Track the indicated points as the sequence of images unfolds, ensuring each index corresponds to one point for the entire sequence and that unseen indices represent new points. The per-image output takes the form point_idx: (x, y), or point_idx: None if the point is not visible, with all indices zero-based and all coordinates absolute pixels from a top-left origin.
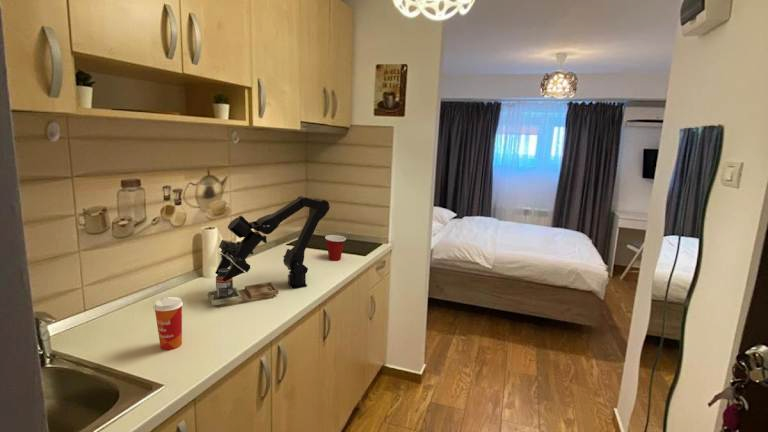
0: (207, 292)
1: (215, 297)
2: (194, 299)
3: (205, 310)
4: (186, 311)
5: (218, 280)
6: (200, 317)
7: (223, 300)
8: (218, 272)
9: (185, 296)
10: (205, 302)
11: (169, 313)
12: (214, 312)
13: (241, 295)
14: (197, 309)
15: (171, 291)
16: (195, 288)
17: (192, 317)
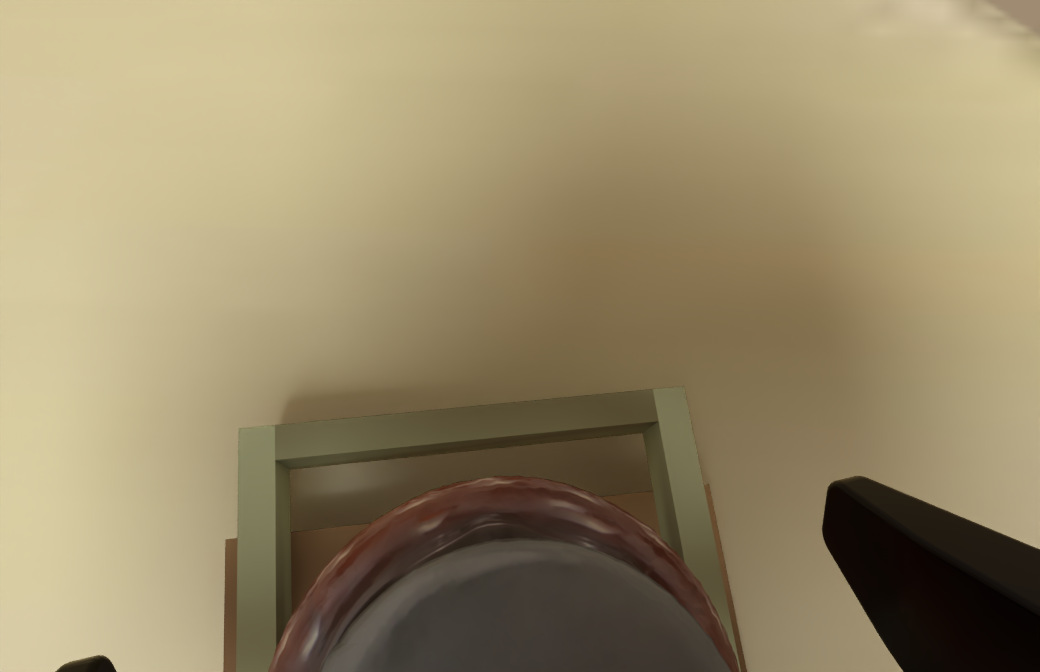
0: (655, 389)
1: None
2: (653, 262)
3: (228, 367)
4: (304, 172)
5: (350, 542)
6: (29, 303)
7: (240, 618)
8: (456, 549)
9: (777, 178)
10: (507, 379)
11: None
12: (96, 473)
13: None
14: (309, 281)
15: (958, 62)
16: (1026, 286)
17: (84, 222)
